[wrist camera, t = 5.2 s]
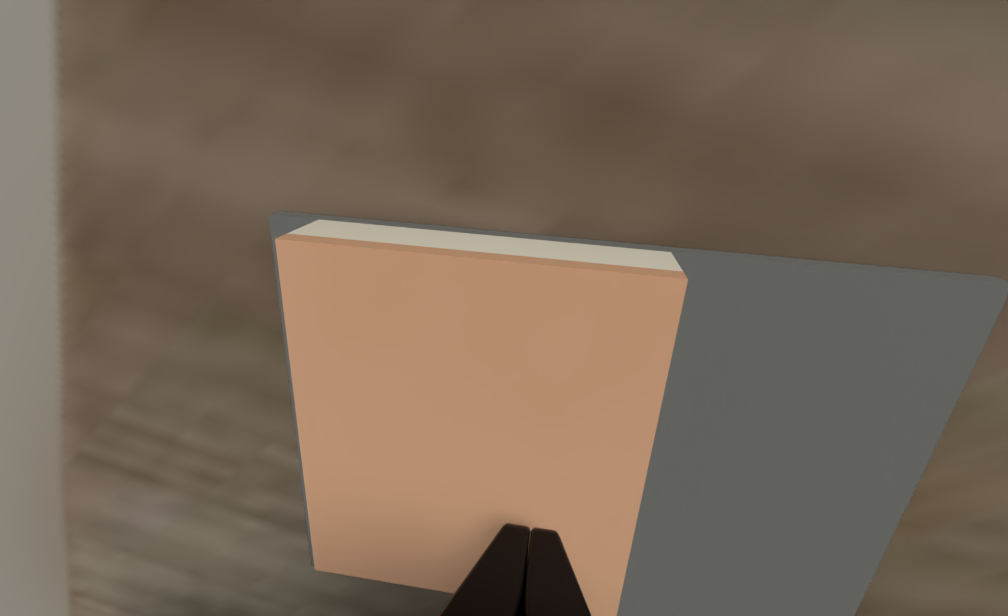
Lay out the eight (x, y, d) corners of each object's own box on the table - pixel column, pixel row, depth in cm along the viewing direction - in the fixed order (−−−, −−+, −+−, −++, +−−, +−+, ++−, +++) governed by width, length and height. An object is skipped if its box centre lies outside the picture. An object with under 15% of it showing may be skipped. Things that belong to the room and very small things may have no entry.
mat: (996, 276, 9) (1013, 284, 9) (828, 639, 13) (835, 654, 13) (279, 210, 11) (268, 214, 10) (318, 554, 14) (311, 566, 14)
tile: (687, 279, 8) (274, 238, 9) (615, 620, 11) (314, 569, 12) (670, 251, 9) (318, 219, 10) (611, 560, 12) (344, 517, 13)
